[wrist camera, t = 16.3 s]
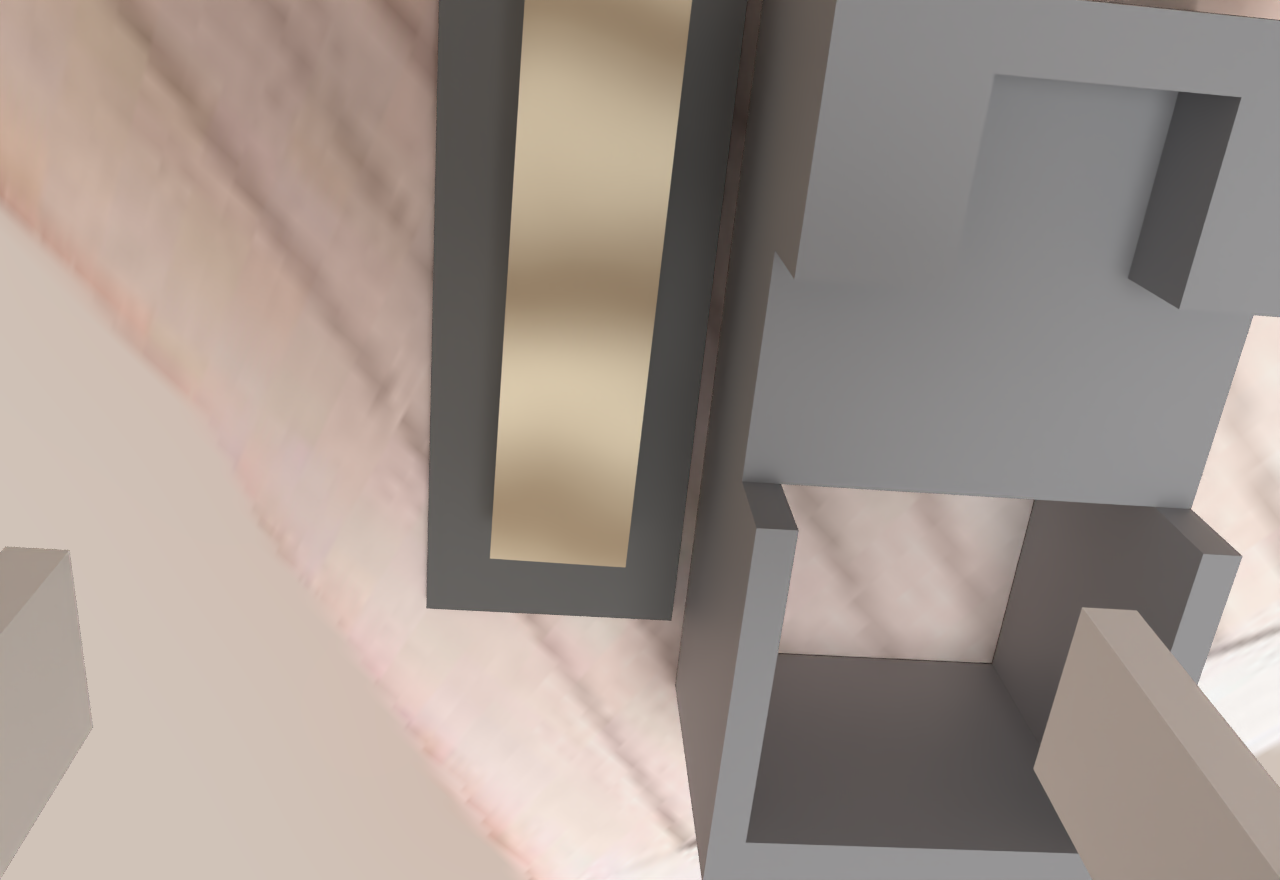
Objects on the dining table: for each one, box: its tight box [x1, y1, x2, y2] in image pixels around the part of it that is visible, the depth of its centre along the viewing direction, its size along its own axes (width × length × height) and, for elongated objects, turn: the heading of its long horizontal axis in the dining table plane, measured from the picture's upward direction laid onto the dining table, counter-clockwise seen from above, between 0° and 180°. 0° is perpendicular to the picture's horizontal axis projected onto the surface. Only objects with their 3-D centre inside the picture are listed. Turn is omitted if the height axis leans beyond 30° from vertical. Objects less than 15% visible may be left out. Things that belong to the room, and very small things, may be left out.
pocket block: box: [675, 0, 1280, 880], centre depth 31 cm, size 23×12×9 cm, turn 175°
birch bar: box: [490, 0, 692, 567], centre depth 31 cm, size 18×4×2 cm, turn 174°
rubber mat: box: [427, 0, 747, 621], centre depth 33 cm, size 20×8×1 cm, turn 175°
